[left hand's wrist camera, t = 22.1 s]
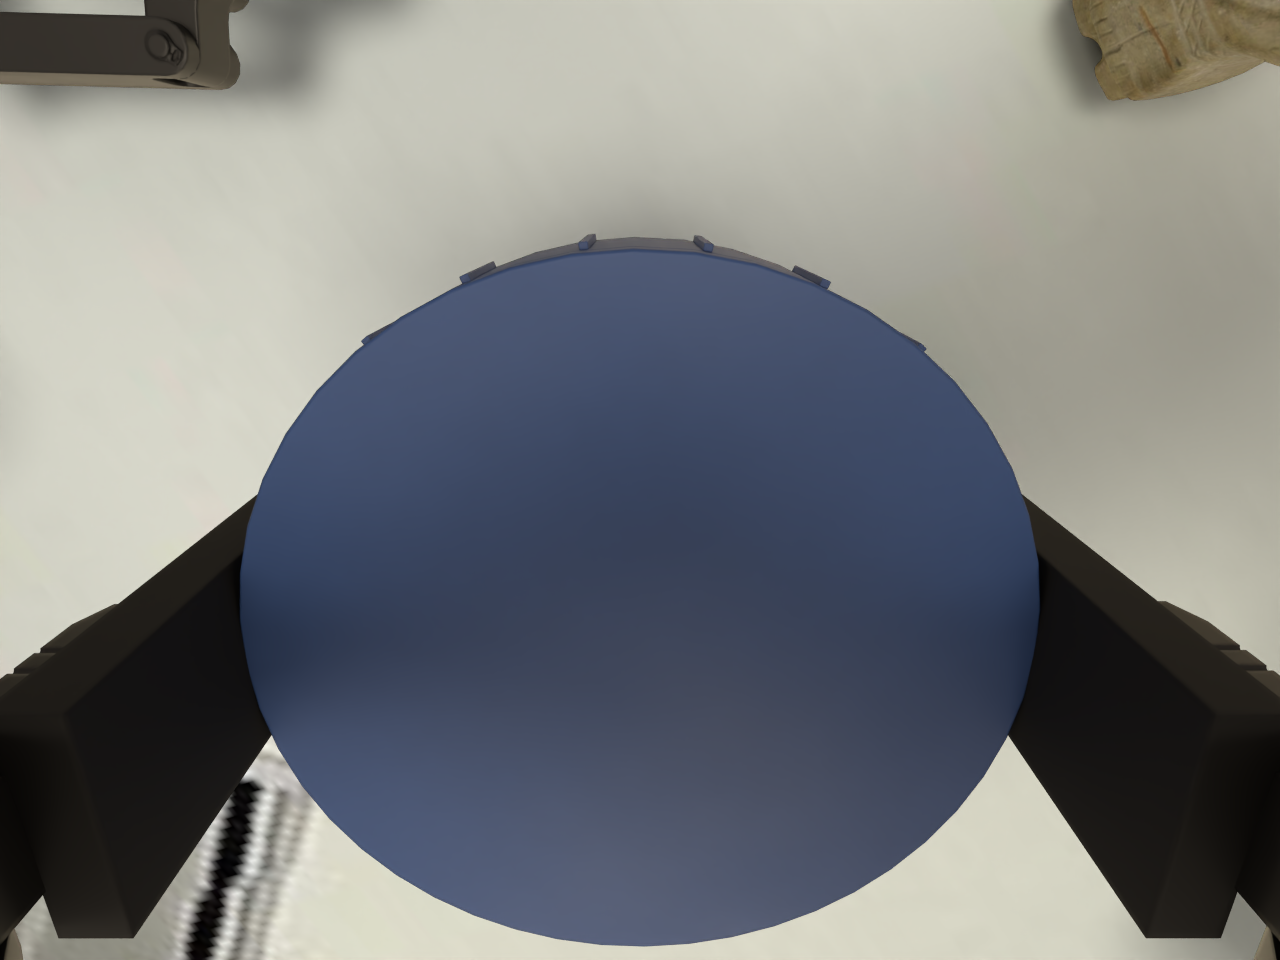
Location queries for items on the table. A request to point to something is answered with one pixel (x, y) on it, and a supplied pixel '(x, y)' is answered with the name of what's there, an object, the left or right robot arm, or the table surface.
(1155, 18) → the sculpture
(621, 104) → the table surface
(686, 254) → the lid
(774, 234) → the table surface
